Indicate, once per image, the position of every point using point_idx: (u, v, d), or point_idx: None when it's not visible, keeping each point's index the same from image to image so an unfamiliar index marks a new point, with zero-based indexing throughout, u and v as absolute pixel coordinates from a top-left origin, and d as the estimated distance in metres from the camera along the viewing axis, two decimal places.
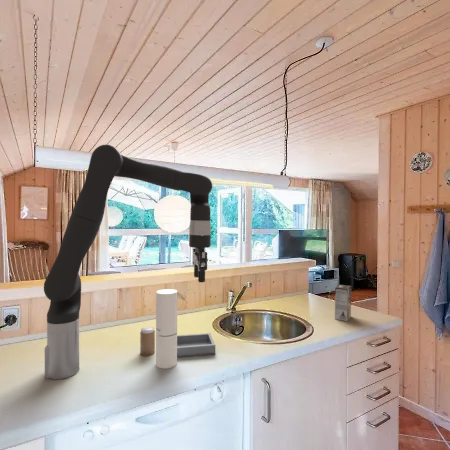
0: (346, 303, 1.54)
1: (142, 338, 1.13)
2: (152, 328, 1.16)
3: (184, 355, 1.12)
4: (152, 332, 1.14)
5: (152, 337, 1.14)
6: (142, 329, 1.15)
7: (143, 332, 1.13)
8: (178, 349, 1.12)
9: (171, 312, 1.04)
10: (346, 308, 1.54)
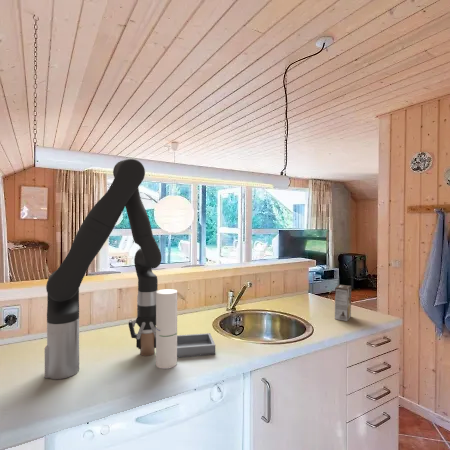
0: (346, 303, 1.54)
1: (142, 338, 1.13)
2: None
3: (184, 355, 1.12)
4: (152, 332, 1.14)
5: (152, 337, 1.14)
6: None
7: (143, 332, 1.13)
8: (178, 349, 1.12)
9: (171, 312, 1.04)
10: (346, 308, 1.54)
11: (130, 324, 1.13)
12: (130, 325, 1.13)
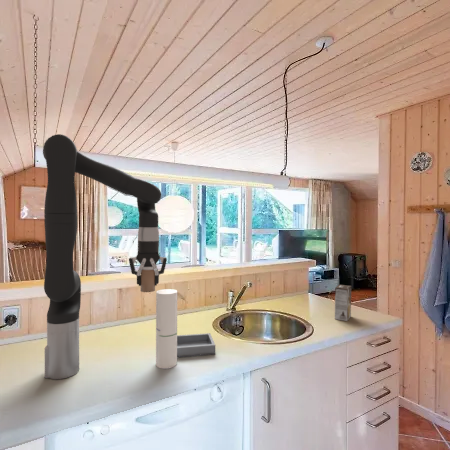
0: (346, 303, 1.54)
1: (142, 274, 1.13)
2: None
3: (184, 355, 1.12)
4: (152, 269, 1.14)
5: (152, 274, 1.14)
6: None
7: (143, 268, 1.13)
8: (178, 349, 1.12)
9: (171, 312, 1.04)
10: (346, 308, 1.54)
11: (130, 260, 1.12)
12: (130, 261, 1.12)
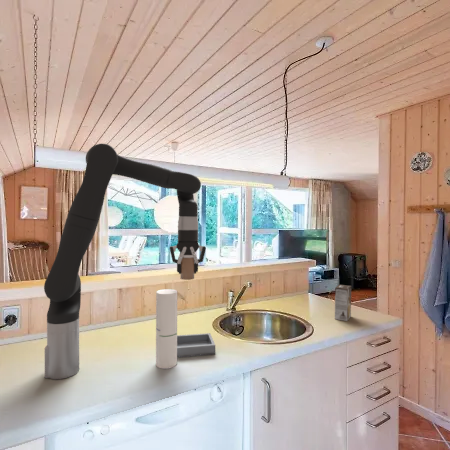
0: (346, 303, 1.54)
1: (183, 262, 1.16)
2: None
3: (184, 355, 1.12)
4: (192, 257, 1.17)
5: (192, 262, 1.17)
6: None
7: (184, 256, 1.16)
8: (178, 349, 1.12)
9: (171, 312, 1.04)
10: (346, 308, 1.54)
11: (171, 248, 1.15)
12: (171, 249, 1.15)
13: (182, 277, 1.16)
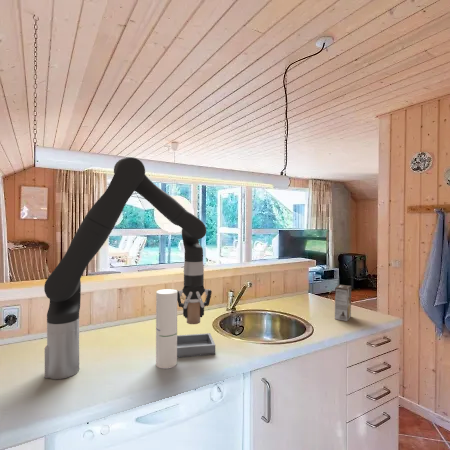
0: (346, 303, 1.54)
1: (189, 307, 1.17)
2: None
3: (184, 355, 1.12)
4: (198, 301, 1.17)
5: (198, 306, 1.17)
6: None
7: (190, 301, 1.17)
8: (178, 349, 1.12)
9: (171, 312, 1.04)
10: (346, 308, 1.54)
11: (177, 293, 1.16)
12: (177, 294, 1.16)
13: (188, 321, 1.17)
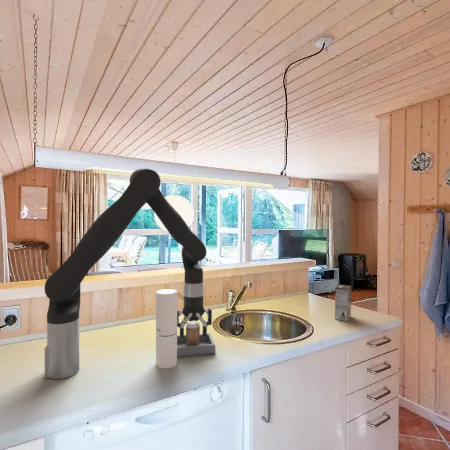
0: (346, 303, 1.54)
1: (188, 333, 1.17)
2: (197, 323, 1.19)
3: (184, 355, 1.12)
4: (198, 327, 1.18)
5: (198, 332, 1.18)
6: (188, 324, 1.18)
7: (189, 327, 1.17)
8: (178, 349, 1.12)
9: (171, 312, 1.04)
10: (346, 308, 1.54)
11: (177, 313, 1.16)
12: (177, 314, 1.16)
13: None
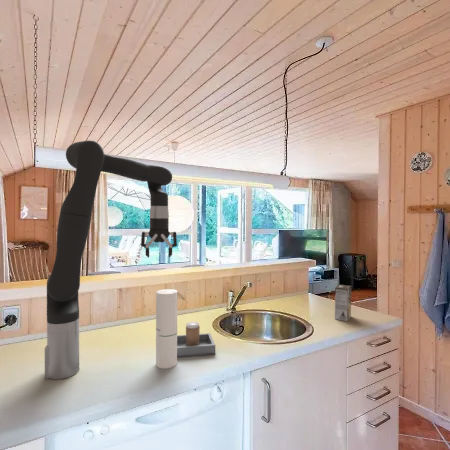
0: (346, 303, 1.54)
1: (188, 333, 1.17)
2: (197, 323, 1.19)
3: (184, 355, 1.12)
4: (197, 327, 1.18)
5: (197, 332, 1.17)
6: (187, 324, 1.18)
7: (189, 327, 1.17)
8: (178, 349, 1.12)
9: (171, 312, 1.04)
10: (346, 308, 1.54)
11: (143, 233, 1.25)
12: (143, 234, 1.25)
13: None
